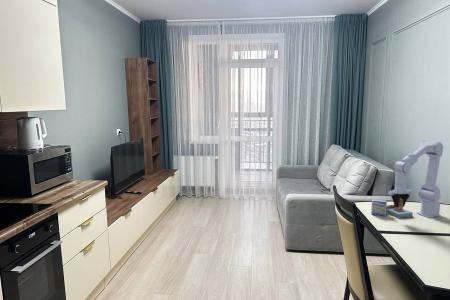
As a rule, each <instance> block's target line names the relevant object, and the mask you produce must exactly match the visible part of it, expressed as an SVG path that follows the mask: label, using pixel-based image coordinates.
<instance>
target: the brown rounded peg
mask: <svg viewBox="0 0 450 300" xmlns="http://www.w3.org/2000/svg"><path fill="white" fill-rule="evenodd" d="M403 209H404V207H403V199H400V201H399V206H398V208H397V207H396V210H398V211H402V210H403Z"/></svg>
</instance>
